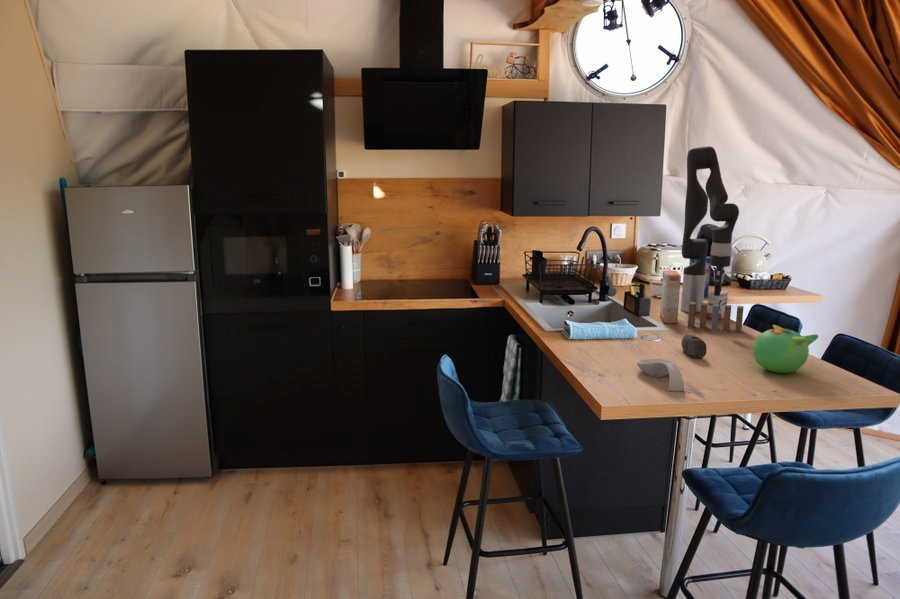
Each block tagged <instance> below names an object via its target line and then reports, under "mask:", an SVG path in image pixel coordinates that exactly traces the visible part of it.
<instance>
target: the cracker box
mask: <svg viewBox="0 0 900 599" xmlns="http://www.w3.org/2000/svg"><path fill="white" fill-rule="evenodd" d="M662 278H663V282H662V295H661V298H660V309H659V310H660V312H659V317H660V319H661V321H662V323H663V324H671V323H674V324H673V325H675V324H676V325H677V324H678V316H679V314H678V313H679V303H680V292H681V291H680V290H681V280H682V279H681V278H682V276H681V274H680V273H679V272H678V271H676V270H663V271H662Z"/></svg>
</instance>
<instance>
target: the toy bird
mask: <svg viewBox="0 0 900 599" xmlns="http://www.w3.org/2000/svg"><path fill="white" fill-rule="evenodd" d="M772 327H773V328H771V329H767V330H765V331H763V332H762V333H761V334H760V335H758V337H757V338H756V340H755V341H754V344H753V348H752V354H753V357H754V359H755V361H756V362H757V364H758V365H760V366H761V367H762V368H764V369H765V370H768V371H770V372H773V373H778V374H788V373H792V372H796V371H797V370H800V368H802V367H803V366H804V364H805V363H806V362H807V360H808V358H809V352H810V348H809V346H810V345H811V344H812V343H814V342H816V340H817V339H819V334H816V333H815V334H809V335H801V334H800V333H798V332H797V331H795V330H792V329H790V328H783V327H781V326H779V325H777V324H772Z"/></svg>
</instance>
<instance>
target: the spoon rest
mask: <svg viewBox="0 0 900 599" xmlns="http://www.w3.org/2000/svg"><path fill="white" fill-rule="evenodd" d="M636 364H637V367H638V368H639V369H640V370H641V371H642V372H644V373H645V374H646V375H648V376H650V377H655V378H661V377H665V376H667V375H669V380H668V389H667V390H668V392H684V391H685V383H684V382H685V381H684V379H683V375H682V372H681V370H680V369H679V367H678V365H677V363H676V362H675V361H671V360H668V359H661V358H648V359H647V358H643V359H639V360H637V361H636Z"/></svg>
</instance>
